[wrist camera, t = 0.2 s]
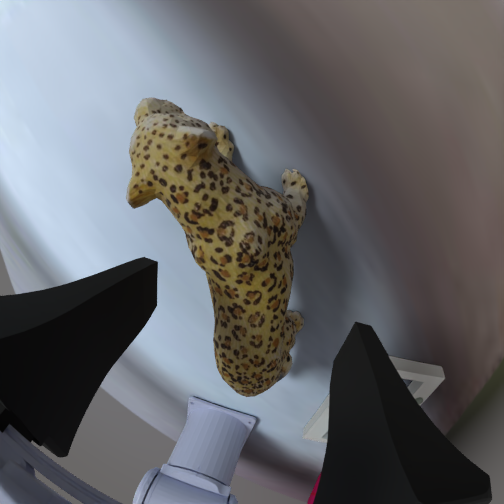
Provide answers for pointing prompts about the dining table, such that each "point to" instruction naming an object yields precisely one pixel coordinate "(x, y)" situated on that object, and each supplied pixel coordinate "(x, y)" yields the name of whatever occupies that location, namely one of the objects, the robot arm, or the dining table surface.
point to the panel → (420, 373)
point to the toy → (226, 237)
